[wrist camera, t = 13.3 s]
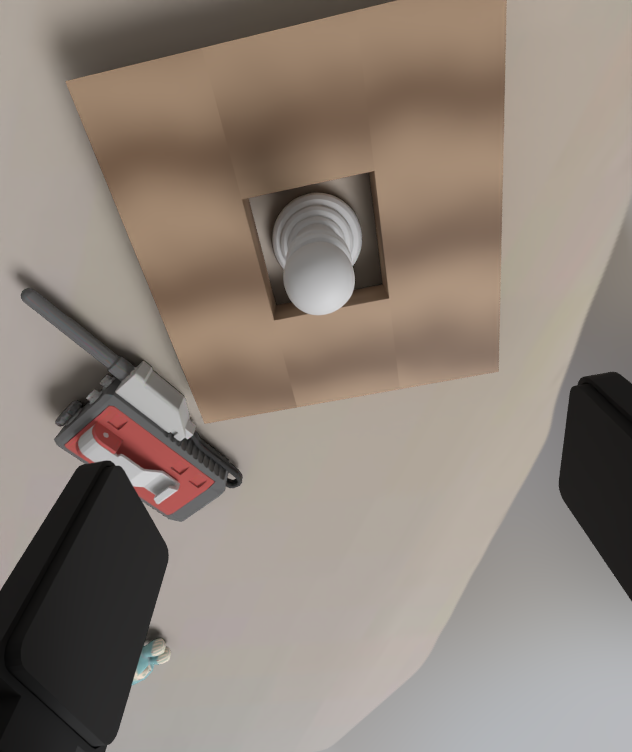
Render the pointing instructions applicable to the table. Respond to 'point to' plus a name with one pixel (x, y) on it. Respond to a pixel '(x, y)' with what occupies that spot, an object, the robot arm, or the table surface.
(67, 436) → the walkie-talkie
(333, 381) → the socket holder
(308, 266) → the chess piece
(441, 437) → the table surface
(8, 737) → the robot arm
